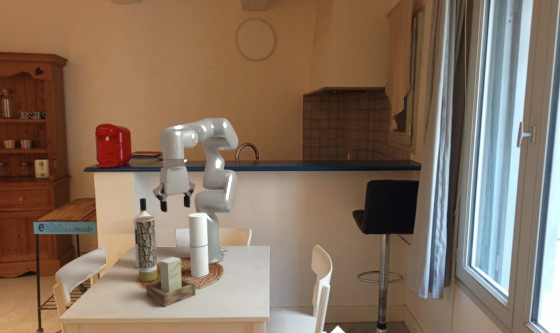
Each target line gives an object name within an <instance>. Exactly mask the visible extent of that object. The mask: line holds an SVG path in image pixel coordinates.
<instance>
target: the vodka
mask: <svg viewBox="0 0 560 333" xmlns="http://www.w3.org/2000/svg"><path fill="white" fill-rule="evenodd" d="M139 210H140V211H139V212H140V213H139V214H138V215H136V216H135V217H134V219H133V224H134V225H133V229H134V241H135V242H134V243H135V244H134V247H135V259H134V266H135V267H136V268H138V269H139V261H138V243H137V225H136V219H137V218H139V217H144V216H152V215H151V214H149V213H148V212H147V211H148V210H147V198H145V197H142V198H140V199H139ZM156 260H157V261H158V258H157V257H156Z"/></svg>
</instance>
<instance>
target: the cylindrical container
mask: <svg viewBox="0 0 560 333" xmlns="http://www.w3.org/2000/svg"><path fill="white" fill-rule="evenodd" d="M188 229H189V230H188V232H189V234H188V235H189V249H190V250H189V254H190V258H189V259H190V275H192V276H191V277H193V276H194V277H193V278H203V277H202V276H205V275H207V274H208V273H209V264H208V238H207V214H206V213H196V212H194V213H190V214H188ZM208 275H209V274H208ZM208 275H207V276H208ZM205 277H206V276H205Z"/></svg>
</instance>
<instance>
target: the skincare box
mask: <svg viewBox="0 0 560 333" xmlns="http://www.w3.org/2000/svg"><path fill="white" fill-rule="evenodd" d="M181 262H182V260H181V258H179V257H176V256H171V257H167V258H165V259H163V260H160V261H159V268H160V269H159V274H160V281H161V291H162V292H164V293H168V292H171V291H174V290H176V289H179V288H182V283H181V278H182V267H181V266H182V264H181Z"/></svg>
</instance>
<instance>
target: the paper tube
mask: <svg viewBox="0 0 560 333" xmlns="http://www.w3.org/2000/svg"><path fill="white" fill-rule="evenodd" d="M155 221H156V220H155V217H154V216H152V215H151V216H144V217H139V218H137V219H136V225H137V243H138V261H139V268H138V275H139V276H138V278H139V280H140V281H141V282H143V283H149V282H148V281H150V282H153V281H156V279H157V278H158V259H157V260H156V258H157V243H156V242H157V241H156V240H157V239H156V224H155V223H156V222H155ZM152 280H153V281H152Z"/></svg>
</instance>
